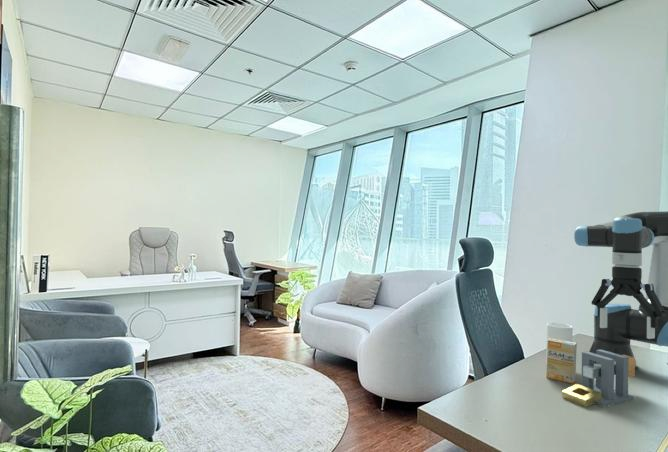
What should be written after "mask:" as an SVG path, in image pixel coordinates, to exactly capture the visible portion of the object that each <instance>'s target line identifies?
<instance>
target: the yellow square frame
mask: <svg viewBox="0 0 668 452" xmlns="http://www.w3.org/2000/svg"><path fill="white" fill-rule="evenodd" d="M579 394H581V395H584V396H581V395H579ZM561 395H562V396H561V397H562V399H565V400H568V401H570V402H572V403H575V404H577V405H580V406H582V407H584V408H588V407H590V406H591V405H593V404H594V403H595V402H597V401H599V400H601V392H598V391H595V390H593V389H590V388H587V387H585V386H582V385H581V384H579V383H575V384H572V385H571V386H569V387H567V388H565V389H563V390H562V391H561Z"/></svg>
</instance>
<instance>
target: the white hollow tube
mask: <svg viewBox="0 0 668 452" xmlns="http://www.w3.org/2000/svg"><path fill="white" fill-rule="evenodd" d="M549 338H553V339H558V340H564V341H569V342H573V325H570V324H566V323H562V322H561V323H559V322H547V323H546V344H545V345H546V350H545V351H546V355H545V357H546V358H545V367H546V368H547V344H548V339H549Z"/></svg>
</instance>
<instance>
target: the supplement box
mask: <svg viewBox="0 0 668 452" xmlns="http://www.w3.org/2000/svg"><path fill="white" fill-rule="evenodd" d="M546 345H547V367H546V373H545V374H546V377H545V378H547V379H551V380H555V381H560V382H565V383H568V384H572V385H575V384H574V383H575V382H576V377H577V376H576V374H577V373H576V372H577V371H576V370H577V345H578V343H577V342H574V341H572V342H569V341H564V340H558V339H553V338H549V339H548V344H547V343H546Z"/></svg>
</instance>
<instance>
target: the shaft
mask: <svg viewBox="0 0 668 452" xmlns="http://www.w3.org/2000/svg"><path fill="white" fill-rule="evenodd" d="M623 356H626V357H629V365H628V379H630V378H634V377H635V376H636V375H635V373H636V371H635V369H636V368H635V360H636V357H635V356H634V357H631V356H627V355H623ZM583 376H586V377H589V378H592V379H594V380H596V378H600V377H601V363H600V364H596V363H594V365H588V366H583ZM614 376H616V361H614Z"/></svg>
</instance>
